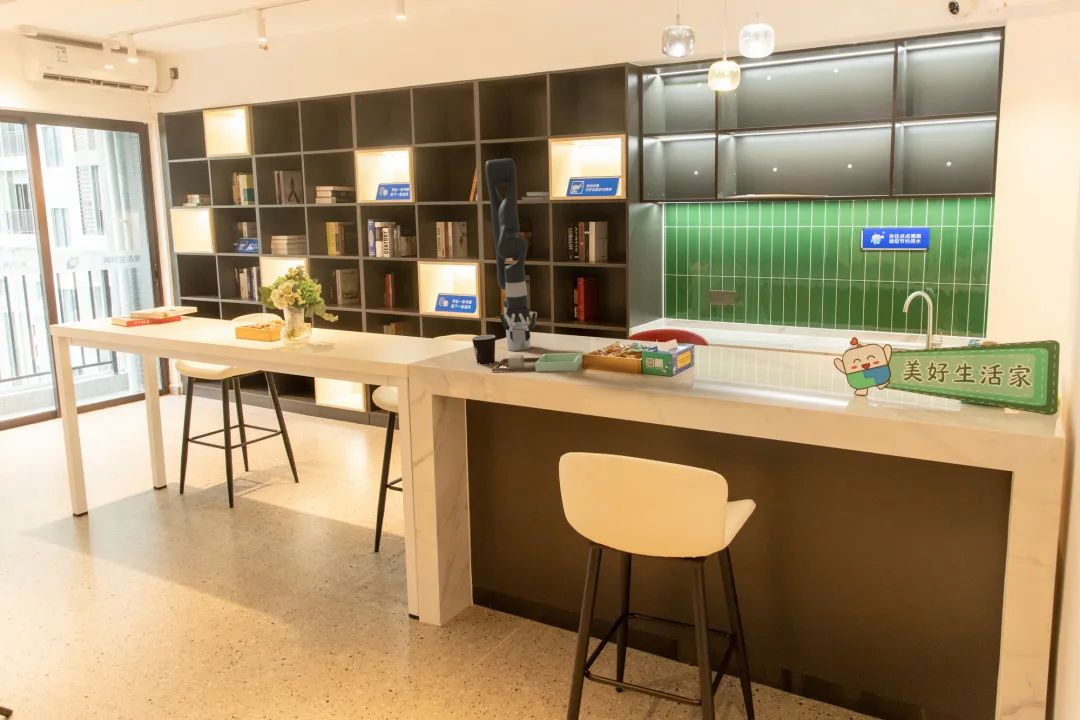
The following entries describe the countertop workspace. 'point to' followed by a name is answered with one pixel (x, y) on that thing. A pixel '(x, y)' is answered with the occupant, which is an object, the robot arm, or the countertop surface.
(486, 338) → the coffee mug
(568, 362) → the green dish
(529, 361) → the walnut tray
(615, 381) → the countertop surface
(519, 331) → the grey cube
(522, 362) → the light grey cube
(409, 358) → the countertop surface
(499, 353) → the countertop surface
